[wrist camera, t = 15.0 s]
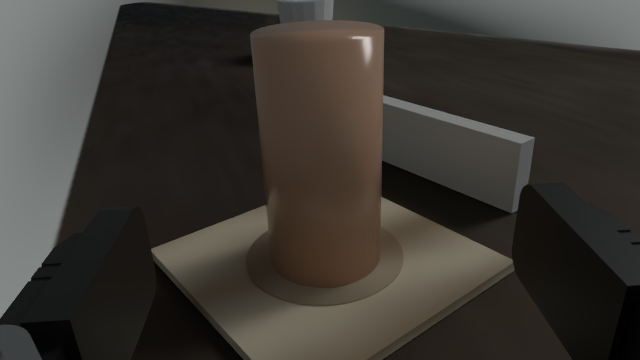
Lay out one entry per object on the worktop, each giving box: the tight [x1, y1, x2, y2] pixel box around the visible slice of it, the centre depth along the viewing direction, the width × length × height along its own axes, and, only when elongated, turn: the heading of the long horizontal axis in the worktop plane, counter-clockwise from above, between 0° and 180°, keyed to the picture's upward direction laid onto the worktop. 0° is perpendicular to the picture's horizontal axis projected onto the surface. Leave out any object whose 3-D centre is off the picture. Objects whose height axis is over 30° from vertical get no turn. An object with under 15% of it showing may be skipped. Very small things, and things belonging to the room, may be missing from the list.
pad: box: [151, 197, 514, 360], centre depth 24 cm, size 12×12×1 cm
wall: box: [382, 95, 535, 213], centre depth 31 cm, size 12×1×4 cm, turn 38°
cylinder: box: [250, 20, 384, 288], centre depth 22 cm, size 5×5×10 cm
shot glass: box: [277, 0, 333, 24], centre depth 64 cm, size 7×7×7 cm
